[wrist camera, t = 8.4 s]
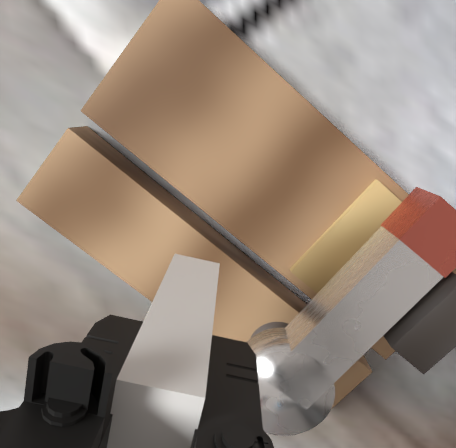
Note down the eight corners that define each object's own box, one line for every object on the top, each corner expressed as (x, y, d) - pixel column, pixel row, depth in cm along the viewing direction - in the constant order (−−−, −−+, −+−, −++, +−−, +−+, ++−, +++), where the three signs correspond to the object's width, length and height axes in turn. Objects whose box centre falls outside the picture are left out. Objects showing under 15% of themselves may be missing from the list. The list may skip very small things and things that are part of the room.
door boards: (460, 251, 22) (548, 304, 16) (307, 393, 25) (331, 487, 19) (182, -5, 19) (157, -62, 13) (40, 190, 22) (-38, 222, 16)
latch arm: (284, 418, 21) (290, 452, 19) (217, 372, 20) (216, 401, 18) (471, 235, 18) (502, 251, 16) (401, 174, 17) (424, 181, 15)
